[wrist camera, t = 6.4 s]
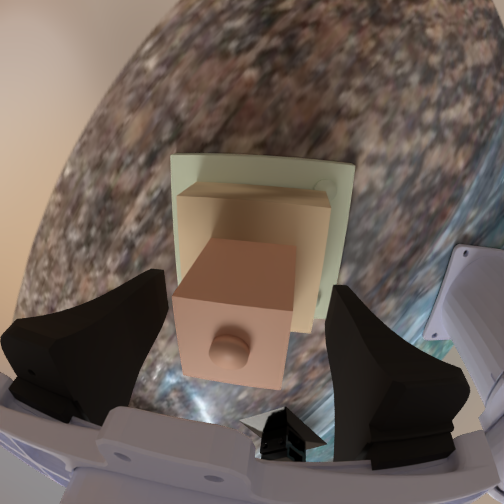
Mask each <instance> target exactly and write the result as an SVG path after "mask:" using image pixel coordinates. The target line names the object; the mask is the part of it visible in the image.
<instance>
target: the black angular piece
mask: <svg viewBox="0 0 504 504" xmlns="http://www.w3.org/2000/svg"><path fill="white" fill-rule="evenodd" d="M240 422H241V423H243V424H244V425H245V426H246V427H248V428H249V429H250V430H252V431H253V432H254V433H255V434H257V435H258V436H259V437H261V447H260V453H261V454H262V455H261V459H263V460H268V461H284V462H306V450H307V449H311V448H315V447H319V446H323V445H326V444H327V443H326V442H324V441H323V440H322V439H321V438H320V437H319V436H318V435H316V434H315V433H314V432H313V431H312V430H311V429H310V428H309V427H308V426H306V425H305V424H304V423H303V422H302V421H301V420H300V419H299V418H298V417H297V416H295V415H294V414H293V413H292V412H291V411H290V410H289V409H288V408H287V407H282V408H279V409H276V410H273V411H269V412H266V413H263V414H259V415H256V416H253V417H249V418H246V419H242V420H240ZM265 443H266V444H265Z"/></svg>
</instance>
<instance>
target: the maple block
mask: <svg viewBox="0 0 504 504" xmlns="http://www.w3.org/2000/svg"><path fill="white" fill-rule="evenodd" d="M176 198H177V219H178V236H179V251H180V265H181V277H182V280H183V278H184V277H185V275H186V274H187V272H188V271H189V269H190V268H191V266H192V265H193V263H194V262H195V260H196V259H197V257H198V256H199V254H200V253H201V251H202V250H203V249H204V247H205V246H206V244H207V243H208V241H209V240H210V238H219V239H230V240H240V241H251V242H261V243H272V244H282V245H292V246H296V266H295V286H294V303H293V315H292V322H291V329H290V331H291V332H301V333H311V329H312V324H313V319H314V314H315V308H316V303H317V298H318V292H319V286H320V280H321V275H322V269H323V262H324V256H325V249H326V243H327V236H328V229H329V222H330V214H331V206H330V203H329V199H328V196H327V193H326V191H318V190H308V189H298V188H287V187H276V186H263V185H250V184H234V183H217V182H195V183H194V184H192V185H191V186H190V187H188V188H187V189H185V190H184V191H183V192H181V193H180V194H178V195H177V196H176Z"/></svg>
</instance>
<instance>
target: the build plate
mask: <svg viewBox="0 0 504 504" xmlns="http://www.w3.org/2000/svg"><path fill="white" fill-rule="evenodd" d="M354 172H355V165H353V164H352V163H344V162H336V161H327V160H317V159H307V158H296V157H283V156H268V155H250V154H225V153H174V154H172V155H171V190H172V211H173V228H174V243H175V256H176V268H177V279H178V286H179V284H180V283H181V281H182V277H181V265H180V251H179V236H178V219H177V198H176V196H177V195H178V194H180V193H181V192H183V191H184V190H185V189H187V188H188V187H190V186H191V185H192V184H194V183H195V182H217V183H234V184H250V185H263V186H276V187H287V188H298V189H308V190H318V191H326V193H327V196H328V199H329V203H330V206H331V214H330V222H329V229H328V236H327V243H326V249H325V256H324V262H323V269H322V275H321V280H320V286H319V292H318V298H317V303H316V308H315V314H314V318H316V319H326V316H327V311H328V307H329V302H330V297H331V292H332V287H333V285H336V284H337V279H338V274H339V269H340V264H341V258H342V253H343V247H344V241H345V235H346V229H347V223H348V216H349V210H350V203H351V196H352V188H353V180H354Z"/></svg>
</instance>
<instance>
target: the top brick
mask: <svg viewBox="0 0 504 504" xmlns="http://www.w3.org/2000/svg"><path fill="white" fill-rule="evenodd" d="M295 266H296V246H292V245H282V244H272V243H261V242H251V241H240V240H230V239H219V238H210V240H209V241H208V243H207V244H206V246H205V247H204V249H203V250H202V251H201V253H200V254H199V256H198V257H197V259H196V260H195V262H194V263H193V265H192V266H191V268H190V269H189V271H188V272H187V274H186V275H185V277H184V278H183V280H182V281H181V283H180V284H179V286H178V287H177V289H176V290H175V292H174V293H173V295H172V302H173V310H174V318H175V325H176V332H177V339H178V345H179V352H180V358H181V364H182V370H183V375H186V376H191V377H196V378H201V379H207V380H212V381H218V382H224V383H230V384H237V385H243V386H251V387H258V388H266V389H275V390H281V385H282V379H283V373H284V367H285V361H286V355H287V348H288V342H289V335H290V329H291V322H292V315H293V303H294V286H295Z"/></svg>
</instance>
